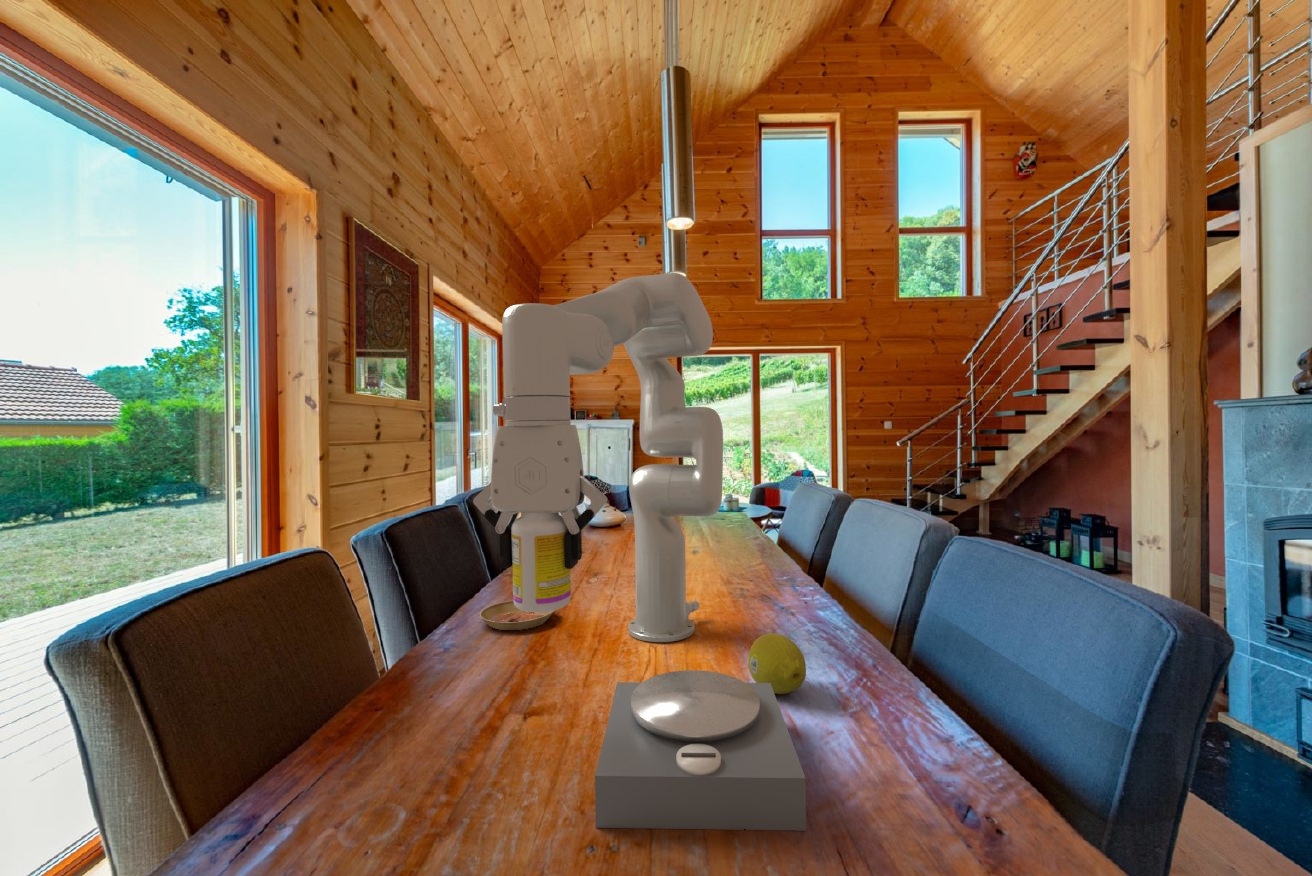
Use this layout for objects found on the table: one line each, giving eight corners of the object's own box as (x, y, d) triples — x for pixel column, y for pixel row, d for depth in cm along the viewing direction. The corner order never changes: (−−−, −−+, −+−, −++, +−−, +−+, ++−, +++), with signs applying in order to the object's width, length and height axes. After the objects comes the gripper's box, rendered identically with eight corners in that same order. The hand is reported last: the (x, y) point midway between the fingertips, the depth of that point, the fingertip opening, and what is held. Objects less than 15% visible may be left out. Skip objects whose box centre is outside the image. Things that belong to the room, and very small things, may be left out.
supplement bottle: (580, 598, 68) (578, 493, 67) (553, 617, 62) (551, 500, 61) (532, 594, 70) (530, 491, 70) (501, 611, 64) (498, 498, 63)
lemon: (741, 677, 86) (741, 625, 86) (791, 674, 87) (790, 623, 87) (761, 712, 75) (760, 652, 75) (817, 708, 76) (816, 650, 76)
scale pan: (635, 677, 73) (635, 670, 73) (750, 678, 73) (750, 670, 73) (625, 740, 58) (625, 731, 58) (769, 742, 58) (769, 732, 58)
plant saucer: (464, 632, 108) (463, 618, 108) (506, 608, 122) (505, 596, 122) (532, 639, 104) (532, 625, 104) (567, 614, 118) (567, 601, 118)
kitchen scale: (617, 720, 74) (617, 676, 74) (770, 721, 73) (770, 676, 73) (595, 827, 54) (594, 767, 54) (806, 830, 53) (805, 769, 53)
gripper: (451, 414, 63) (456, 573, 63) (603, 411, 60) (607, 575, 61) (480, 415, 70) (484, 557, 70) (617, 412, 68) (620, 558, 68)
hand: (541, 564), depth 66 cm, fingers closed on supplement bottle, 6 cm apart
